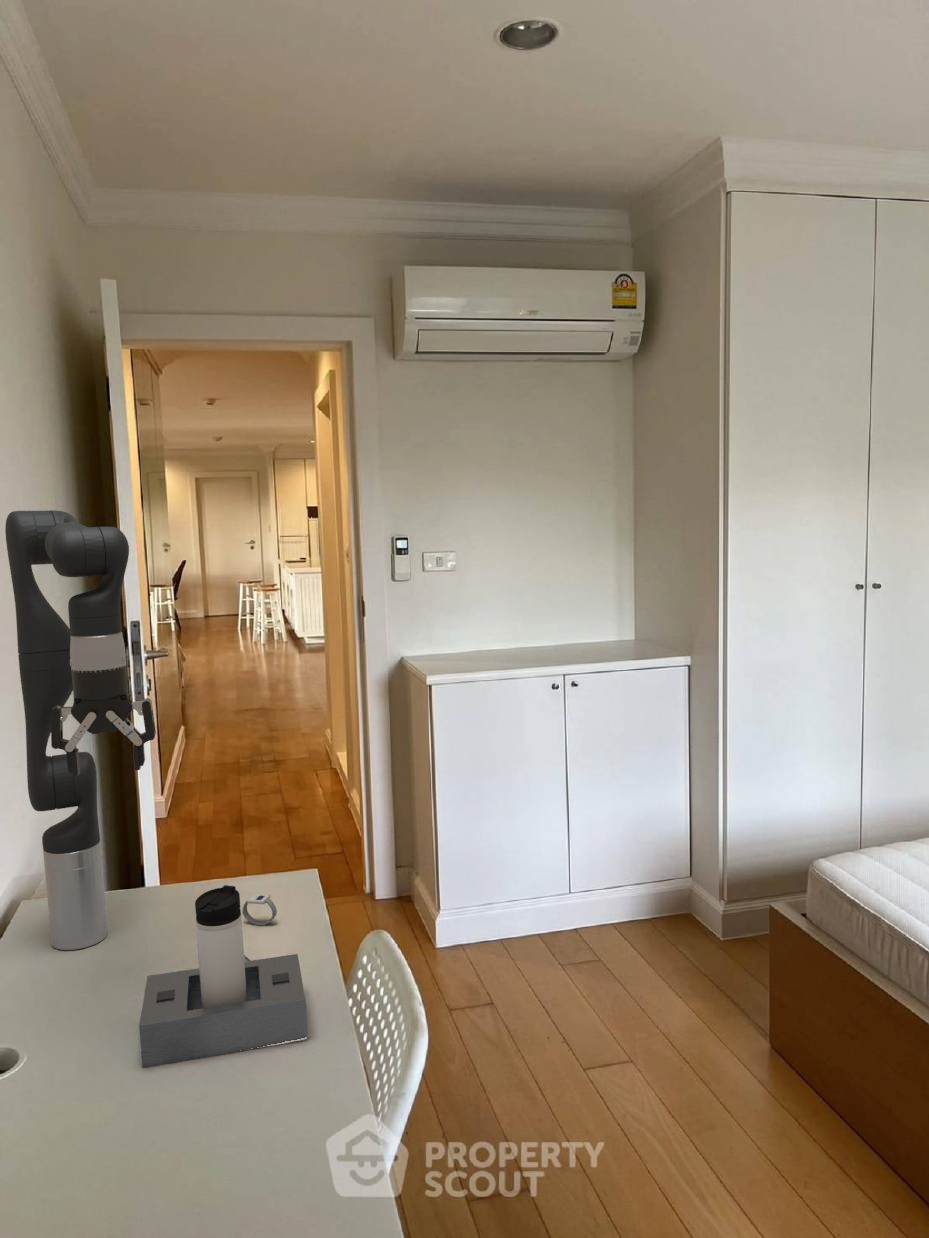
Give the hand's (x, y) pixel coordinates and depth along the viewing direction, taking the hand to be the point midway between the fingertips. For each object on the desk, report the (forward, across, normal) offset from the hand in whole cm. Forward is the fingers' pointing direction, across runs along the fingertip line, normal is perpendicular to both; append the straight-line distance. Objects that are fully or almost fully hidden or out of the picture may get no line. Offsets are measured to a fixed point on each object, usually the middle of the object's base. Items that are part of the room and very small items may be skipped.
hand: (107, 771), depth 137 cm
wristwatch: (+36, -21, -21) cm, 47 cm away
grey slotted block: (+36, -15, +12) cm, 41 cm away
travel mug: (+36, -15, +12) cm, 41 cm away
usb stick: (+37, -18, -6) cm, 41 cm away
